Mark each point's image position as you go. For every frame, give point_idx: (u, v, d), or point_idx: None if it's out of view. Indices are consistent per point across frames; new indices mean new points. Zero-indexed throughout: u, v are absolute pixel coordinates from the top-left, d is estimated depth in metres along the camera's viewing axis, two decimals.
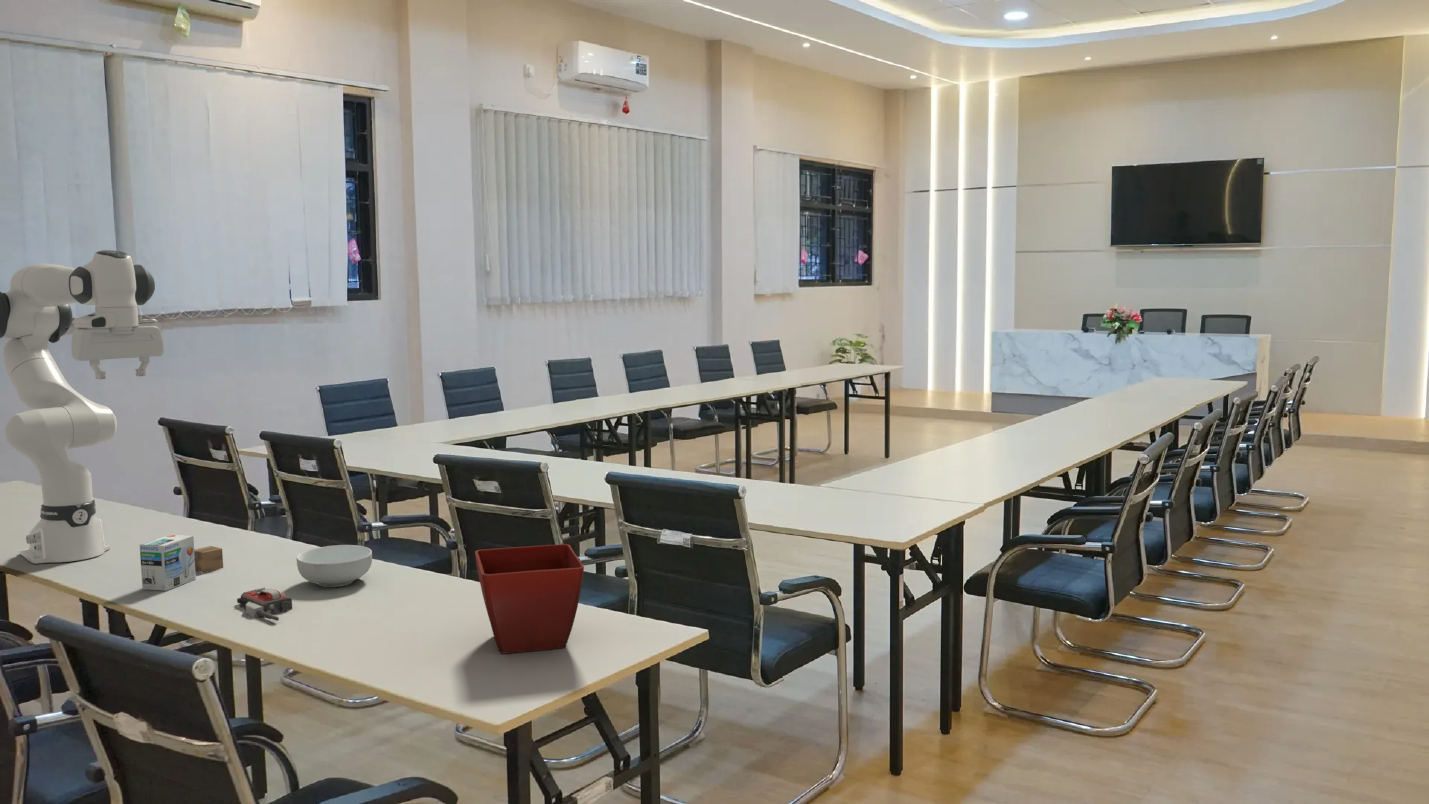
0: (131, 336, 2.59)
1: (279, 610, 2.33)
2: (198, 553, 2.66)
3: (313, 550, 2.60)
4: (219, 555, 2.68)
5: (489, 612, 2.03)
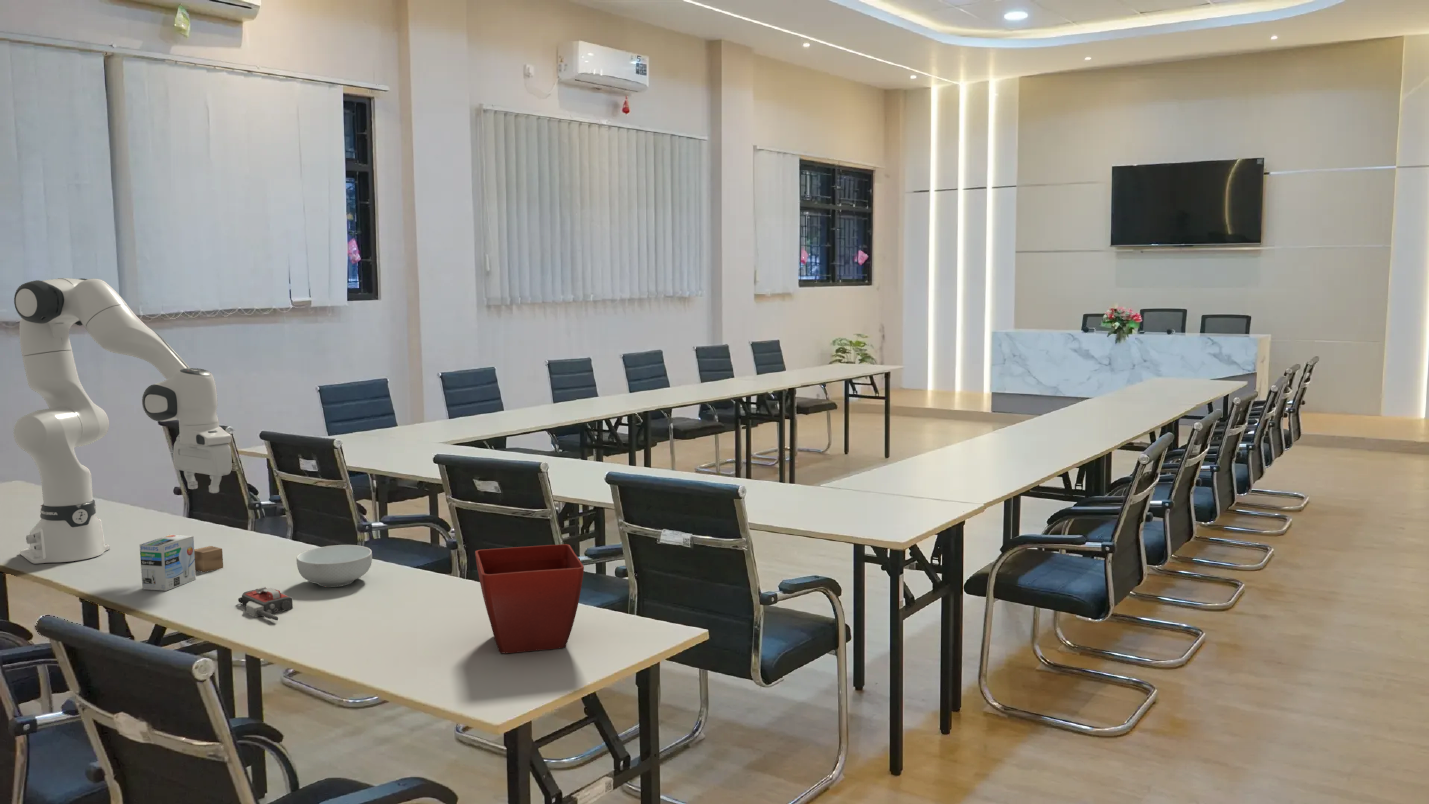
0: None
1: (279, 610, 2.34)
2: (198, 553, 2.66)
3: (313, 550, 2.60)
4: (219, 555, 2.68)
5: (489, 612, 2.03)
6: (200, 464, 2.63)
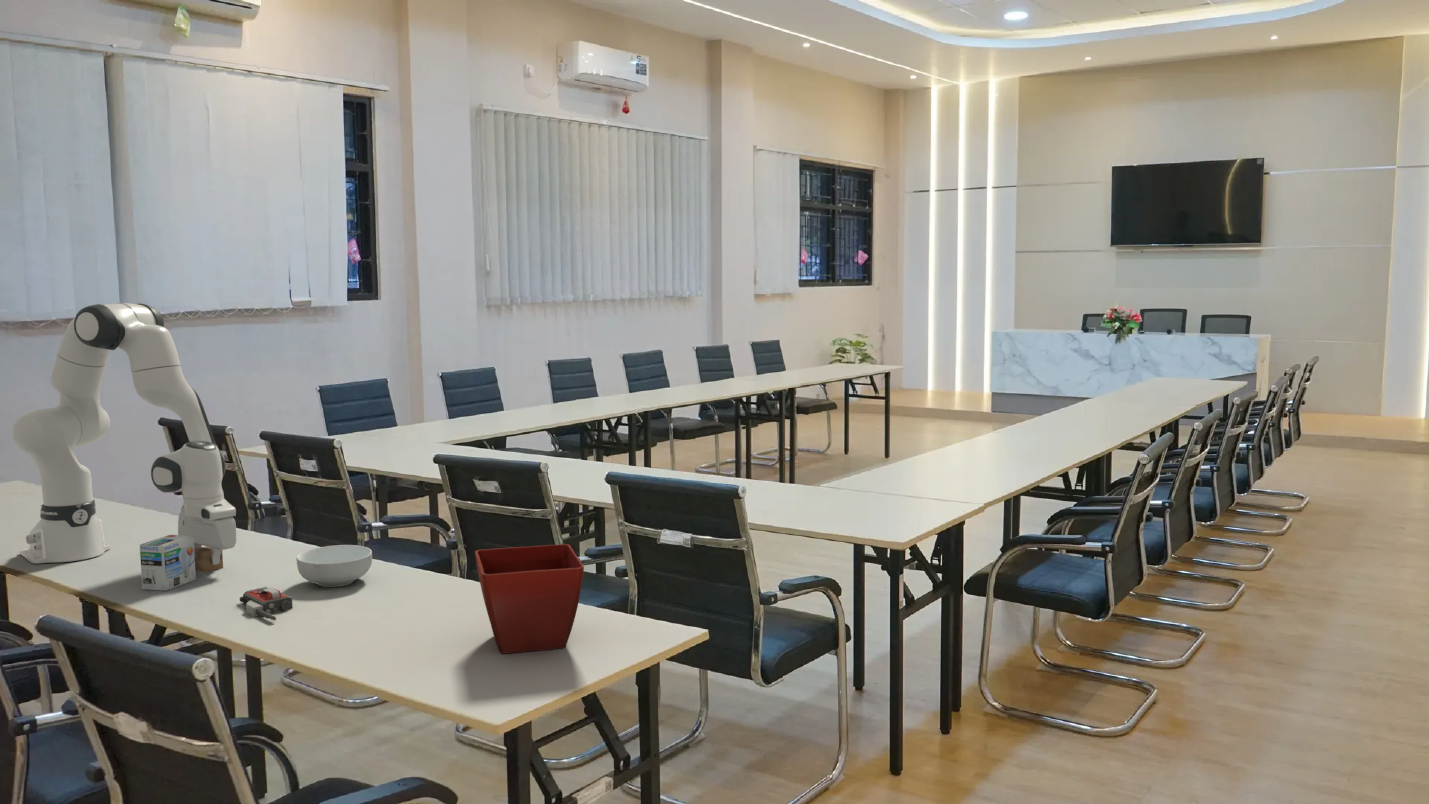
0: None
1: (279, 609, 2.34)
2: (198, 553, 2.66)
3: (313, 550, 2.60)
4: None
5: (489, 612, 2.03)
6: (205, 537, 2.65)
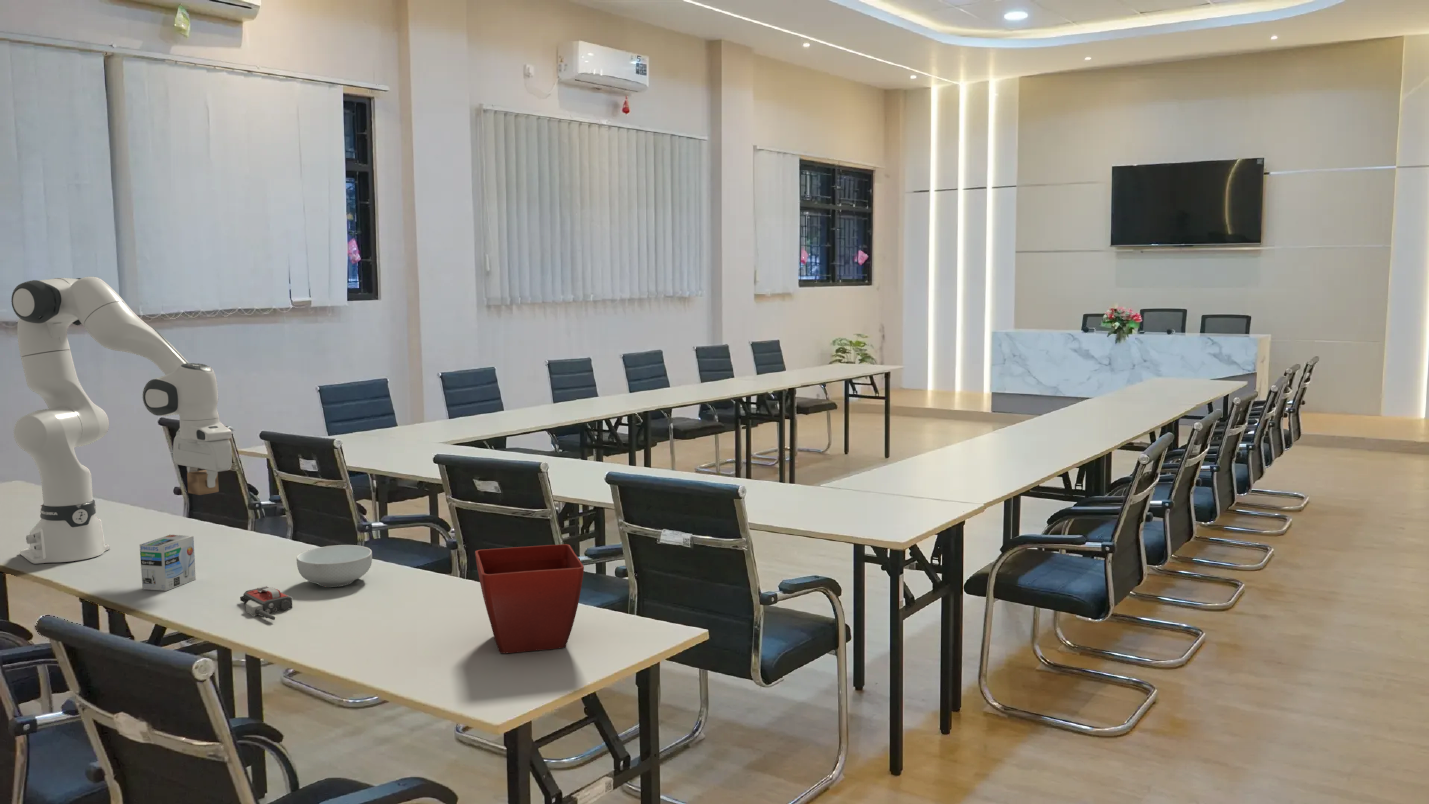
0: None
1: (278, 609, 2.34)
2: (193, 476, 2.64)
3: (313, 550, 2.60)
4: None
5: (489, 612, 2.03)
6: (200, 459, 2.63)
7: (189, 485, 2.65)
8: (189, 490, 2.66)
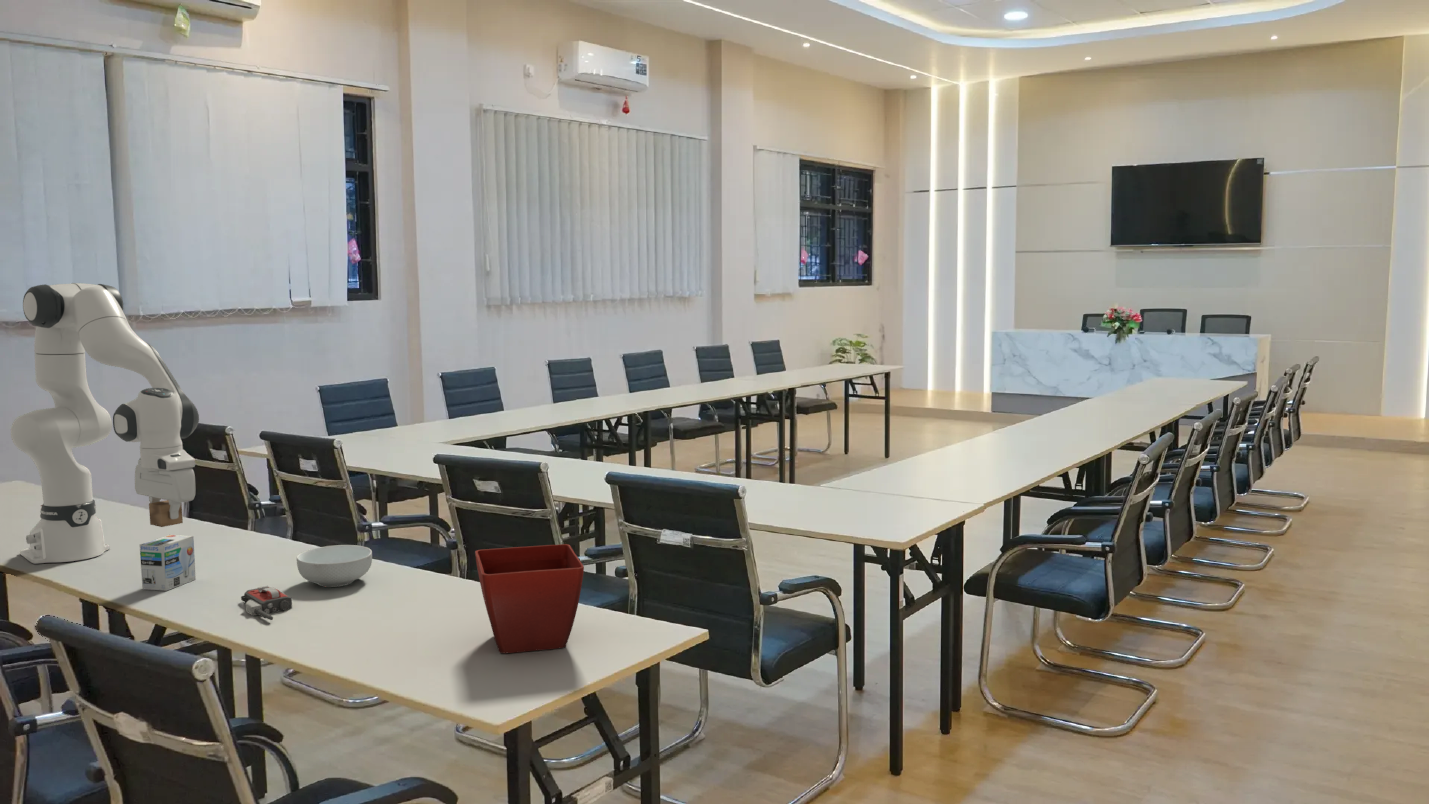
0: None
1: (278, 609, 2.34)
2: (155, 507, 2.50)
3: (314, 550, 2.60)
4: None
5: (489, 612, 2.03)
6: (162, 489, 2.49)
7: (151, 516, 2.52)
8: (151, 522, 2.52)
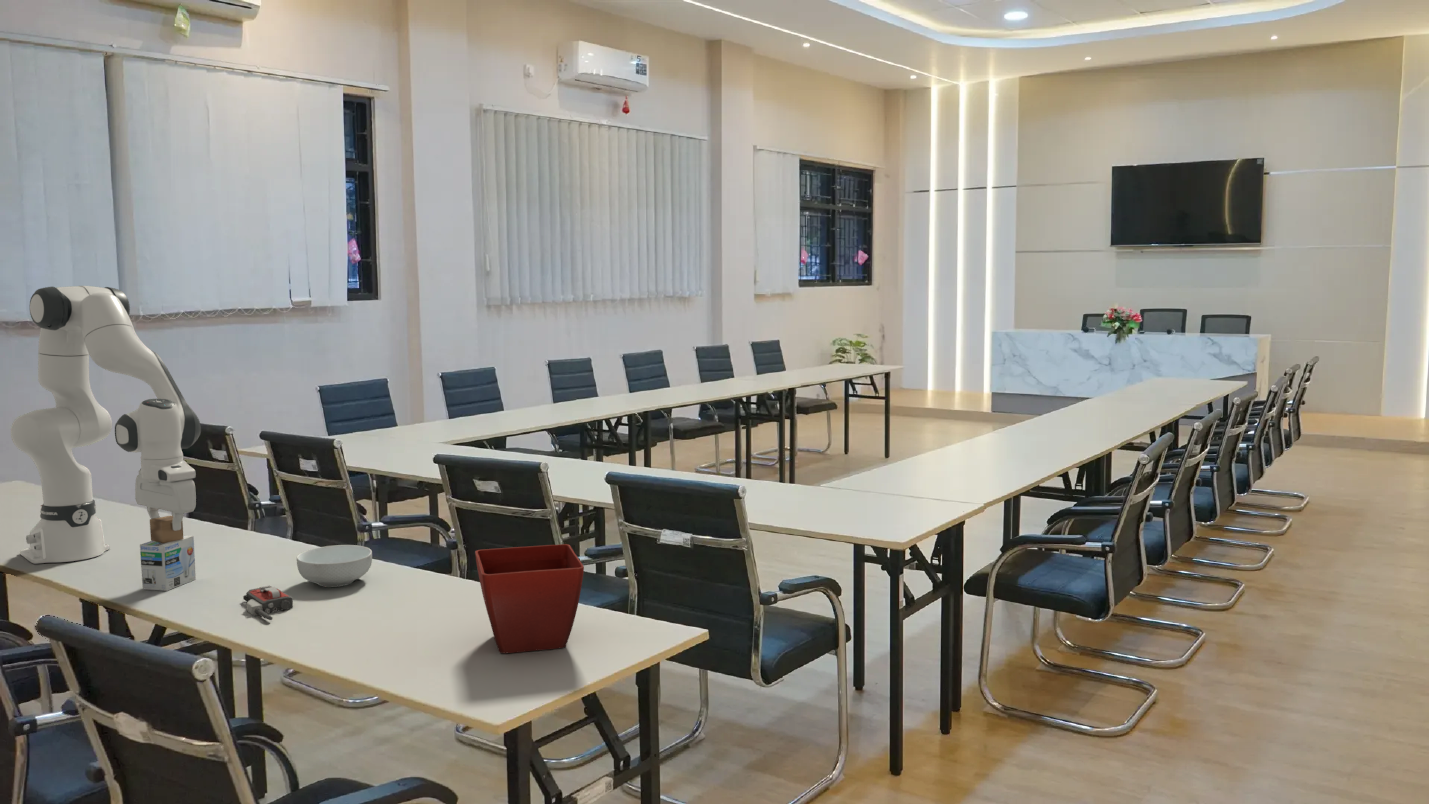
0: None
1: (278, 609, 2.34)
2: (156, 523, 2.51)
3: (314, 550, 2.60)
4: None
5: (489, 612, 2.03)
6: (163, 500, 2.50)
7: (152, 532, 2.52)
8: (152, 538, 2.53)
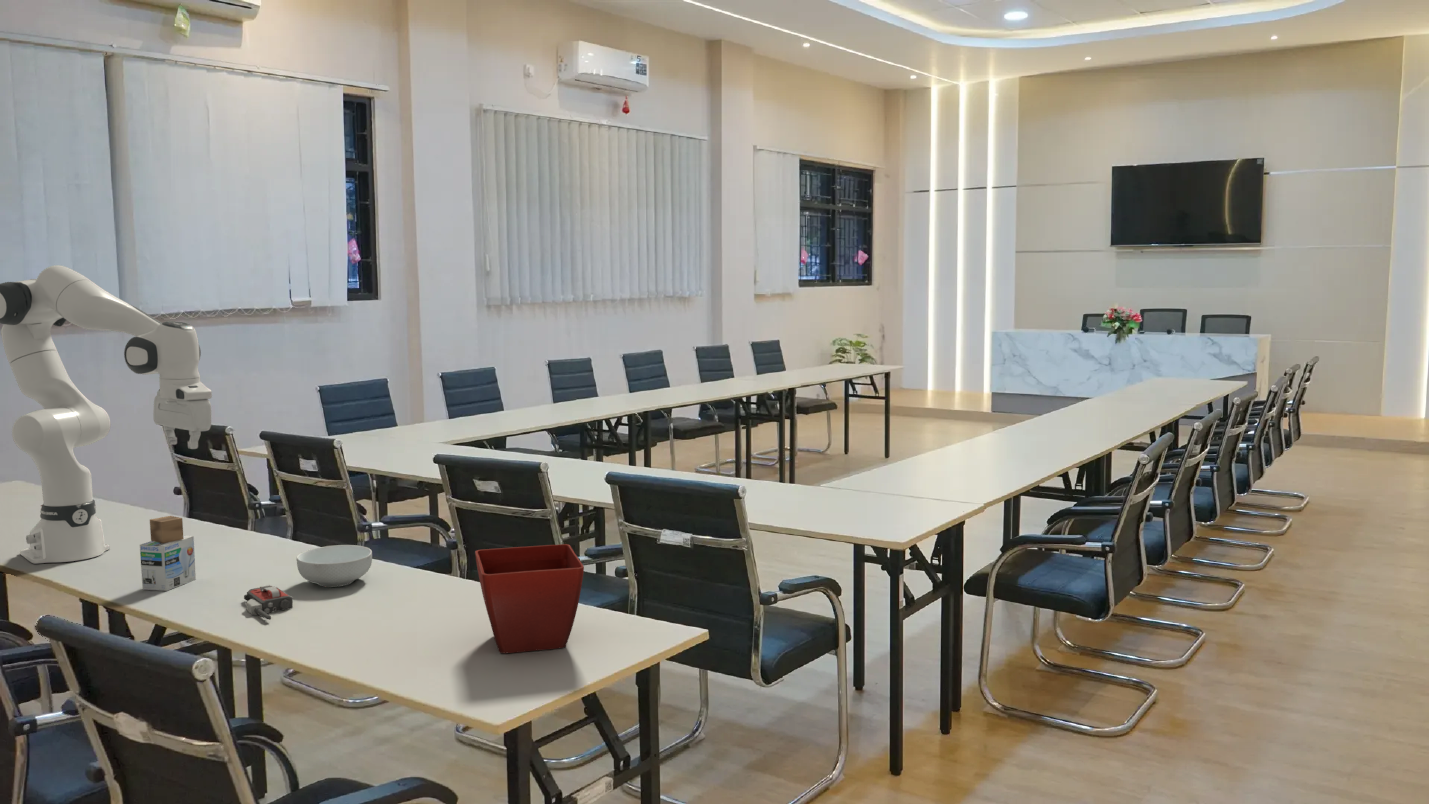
0: None
1: (278, 609, 2.34)
2: (156, 523, 2.51)
3: (314, 550, 2.60)
4: (179, 525, 2.53)
5: (489, 612, 2.03)
6: (180, 419, 2.59)
7: (152, 532, 2.52)
8: (152, 538, 2.53)
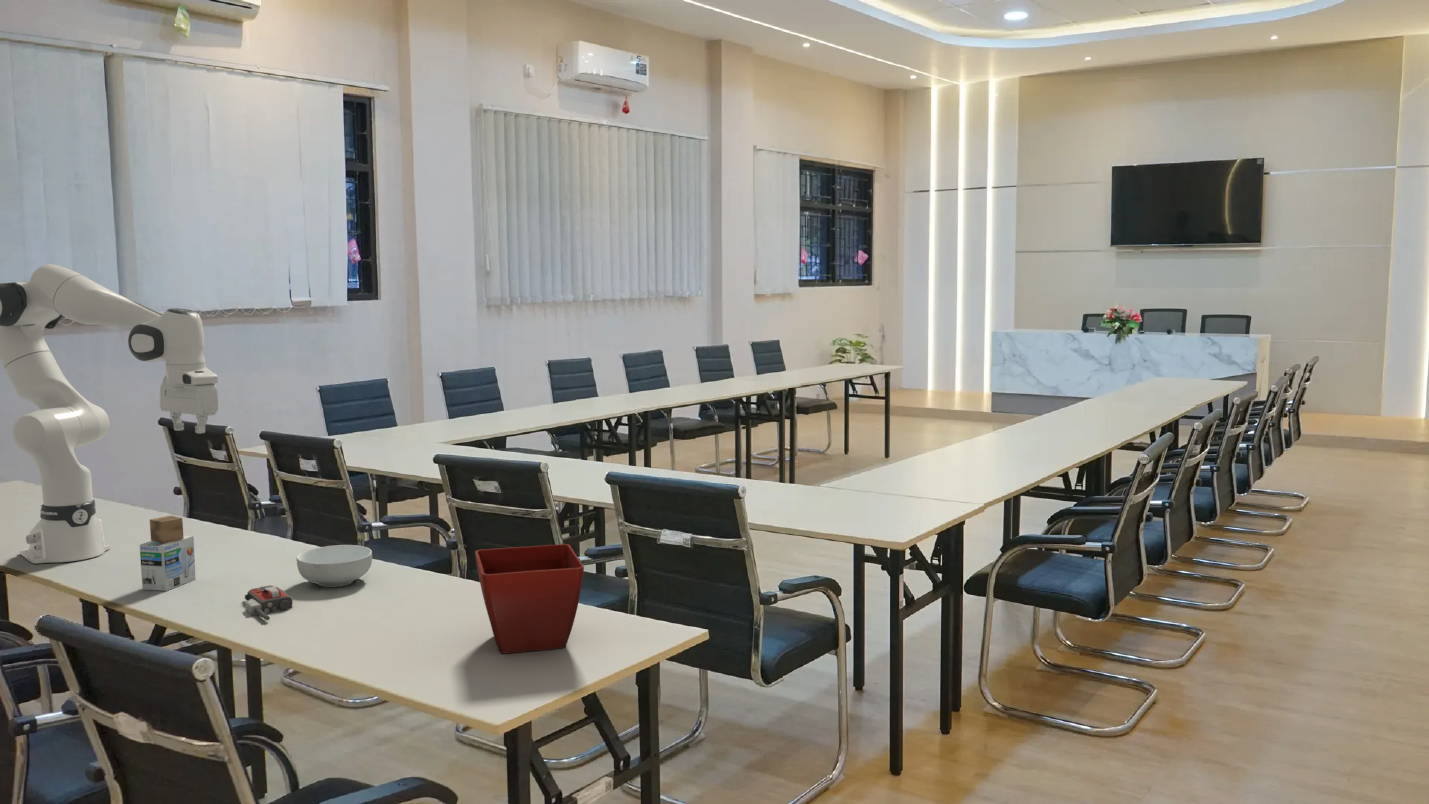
0: None
1: (278, 609, 2.34)
2: (156, 523, 2.51)
3: (314, 550, 2.60)
4: (179, 525, 2.53)
5: (489, 612, 2.03)
6: (187, 404, 2.62)
7: (152, 532, 2.52)
8: (152, 538, 2.53)
